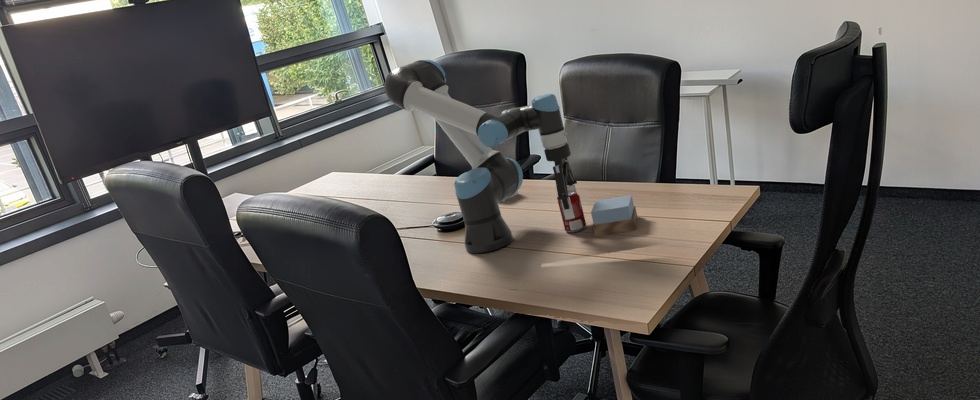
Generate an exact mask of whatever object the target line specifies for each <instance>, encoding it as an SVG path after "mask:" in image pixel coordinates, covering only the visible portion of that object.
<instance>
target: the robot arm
mask: <svg viewBox="0 0 980 400" xmlns="http://www.w3.org/2000/svg"><path fill="white" fill-rule="evenodd" d="M446 82H447V78H446V73H445V71H444V69H443V67H442V66H441V65H440V64H439V63H438V62H437V61H434V60H431V59H421V60H420V59H419V60H415V61H414V62H412V63H408V64H405V65H402V66H398V67H395V68H394V69H392V70H391V71H390V72H389V73H388V74H387V76H386V77H385V80H384V92H385V95H386V97H387V99H388V100H389V101H390V102H391V103H392V104H393V105H395V106H397V107H398V108H401V109H403V110H405V111H408V112H413V111H417V112H419V113H422V114H424V115H426V116H429V117H431V118H433V119H434V120H435V122H436V124H438V125H439V126H440V127H441V130H442V131H443V132H444V133H445V134H446V135H447V137H448V138H449V140H450V141H451V142H452V143H453V145H454V146H455V147H456V148H457V150H458V151H459V152H460V154H462V156H463V157H464V158H465V160H466V161H467V162H468V163H469V164H470V166H471V169H470V170H468V171H464V173H463V172H462V174H460V175H458V177H457V178H455V180H454V182H453V183H454V185H453V186H454V190H455V195H456V198H457V199H456V200H457V201H458V205H459V209H460V212H461V215H462V219H463V222H464V227H465V229H464V231H465V232H464V233H465V234H464V246H465V250H466V252H467V253H469V254H480V253H482V254H483V253H487V252H492V251H495V250H498V249H500V248H502V247H505V246H507V245H508V244H510V243H512V241H513V239H514V236H513V234H512V230H511V229H510V227H509V226H508V224H507V223H506V221H505V219H504V218H503V216H502V214H501V211H500V210H501V209H500V205H499V204H500V203H501V202H504V201H503V200H504V199H506V198H507V197H509V196H512V195H513V194H514V193H515V192H516V191H517V190H518V191H519V189H520V188H521V186H522V184H523V178H524V174H523V170H522V167H521V166H520V164H519V163H518V162H517V161H516V160H515V159H513V158H510V157H505V156H504V155H503V154H502V152H501V151H500V150H494V149H492V148H494V147H496V146H500V145H503V143H505V142H507V141H508V140H511V139H512V138H514V137H516V136H518V135H521V134H522V133H524V132H529V131H535V130H536V131H537V130H538V133H539V137H540V140H541V144H542V147H543V149H544V150H543V152H544V155H545V159H546V161H547V162H553V163H554V166H552V171H553V174H554V181H555V184H556V185H555V186H556V192H557V197H556V199H557V201H558V200H561V204H562V208H563V212H564V215H565V219H566V220H567V219H572V218H575V216H574V213H573V209H572V205H571V201H570V197H569V196H568V191H569V190H575V191H576V193H577V194H578V192H577V187H576V184H578V181H577V180H575V179H576V178H575V176H574V173H573V170H572V168H571V165H570V163H569V159H568V158H569V157H570V156H571V154H572V153H571V148H570V145H569V143H567V142H568V138H567V135H568V134H569V133H568V131H565V125H564V123H563V119H562V114H561V110H560V107H561V106H560V105H559V103H558V100H557V97H556V95H555V94H554V93H546V94H543V95H537V96H536V97H533V98H532V99H531V104H530V105H524V106H519V107H511V108H509V109H504V110H503V111H501V113H500V115H498V116H497V115H494V114H491V113H489V112H487V111H484V110H482V109H479V108H477V107H474V106H471V105H470V104H467V103H464V102H462V101H459V100H456V99H454V98H452V97H451V96H450V94H449V86H448V84H447V83H446Z"/></svg>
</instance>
